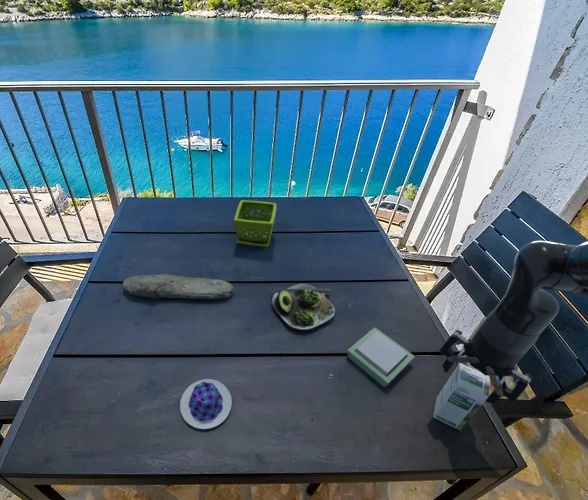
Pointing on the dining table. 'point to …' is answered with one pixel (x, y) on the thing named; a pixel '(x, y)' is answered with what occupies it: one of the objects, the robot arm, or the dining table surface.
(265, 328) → the dining table surface
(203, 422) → the pudding
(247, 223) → the flower pot
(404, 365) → the scale
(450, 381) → the syrup box
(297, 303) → the salad plate
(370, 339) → the pan
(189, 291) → the elongated rock
